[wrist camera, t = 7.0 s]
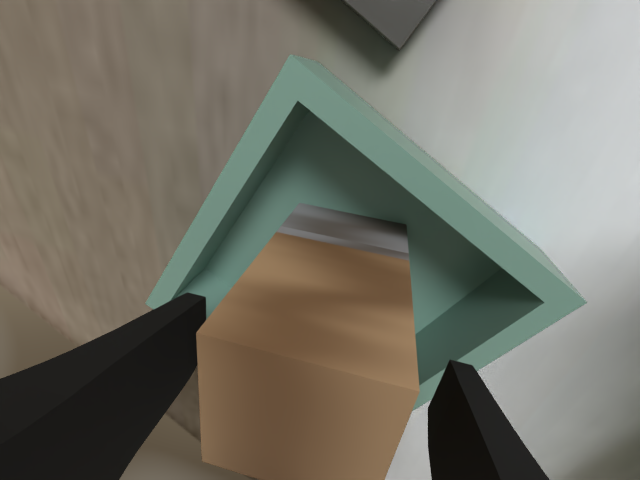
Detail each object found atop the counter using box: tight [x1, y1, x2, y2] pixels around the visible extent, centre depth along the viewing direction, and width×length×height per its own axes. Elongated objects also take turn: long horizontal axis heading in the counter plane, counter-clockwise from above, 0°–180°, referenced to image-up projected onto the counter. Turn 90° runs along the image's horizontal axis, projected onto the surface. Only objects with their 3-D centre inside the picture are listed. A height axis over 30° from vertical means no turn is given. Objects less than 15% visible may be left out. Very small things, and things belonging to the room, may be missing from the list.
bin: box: [145, 54, 587, 411], centre depth 13 cm, size 11×11×4 cm
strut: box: [196, 203, 420, 480], centre depth 11 cm, size 4×4×8 cm
